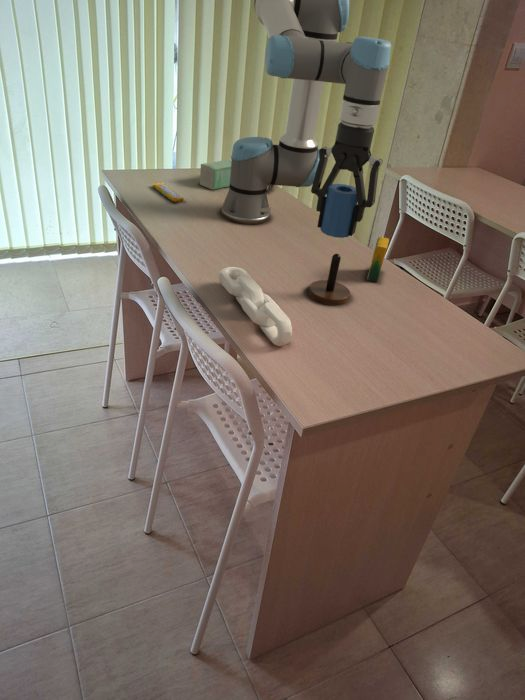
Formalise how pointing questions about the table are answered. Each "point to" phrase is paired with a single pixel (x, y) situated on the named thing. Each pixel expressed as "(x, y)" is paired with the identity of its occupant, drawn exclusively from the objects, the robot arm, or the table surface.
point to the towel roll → (338, 210)
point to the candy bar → (167, 192)
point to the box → (215, 174)
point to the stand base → (329, 293)
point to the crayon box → (378, 258)
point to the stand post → (333, 272)
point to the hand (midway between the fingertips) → (336, 229)
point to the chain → (257, 305)
